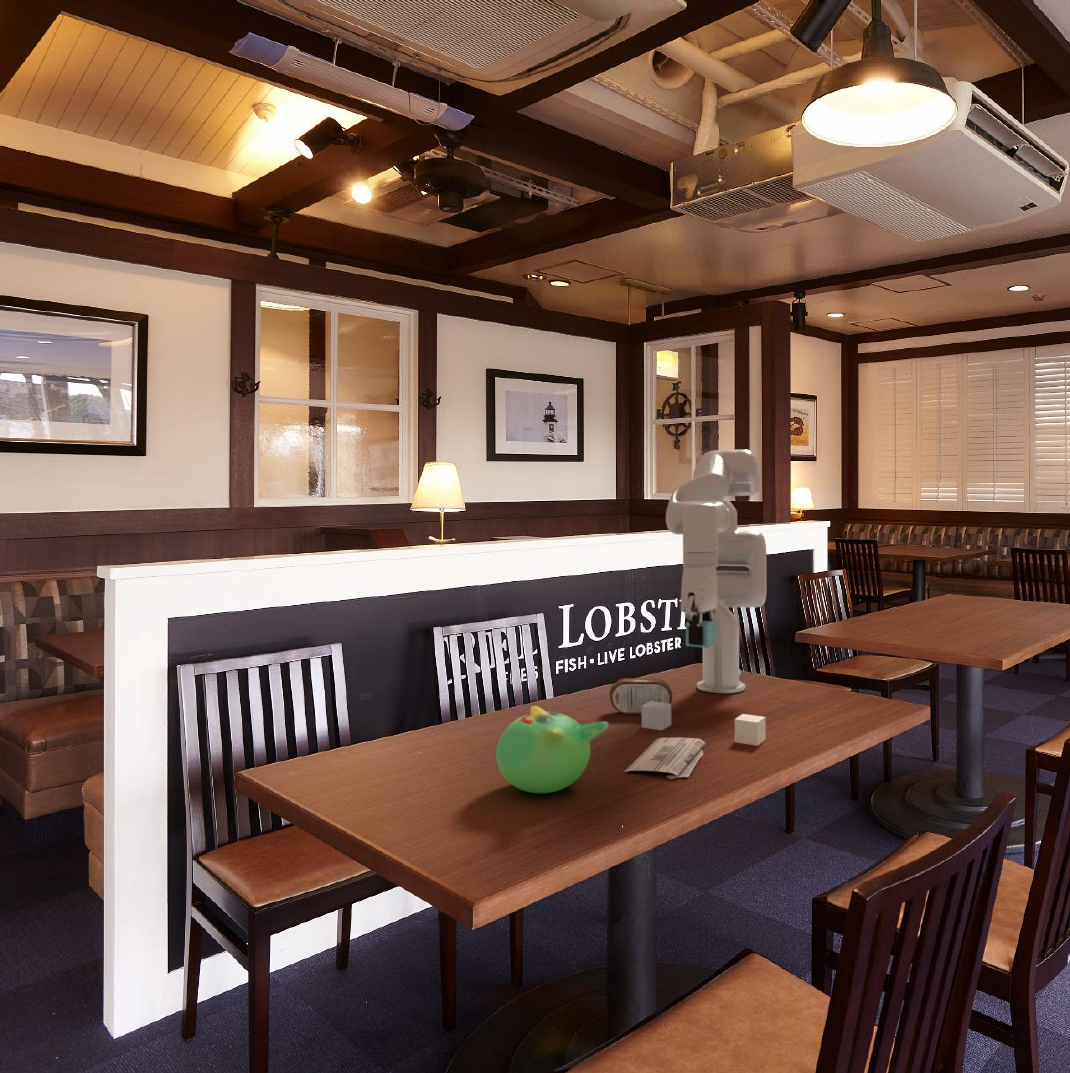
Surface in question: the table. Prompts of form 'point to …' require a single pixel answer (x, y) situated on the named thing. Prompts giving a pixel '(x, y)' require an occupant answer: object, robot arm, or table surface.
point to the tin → (638, 694)
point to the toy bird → (545, 750)
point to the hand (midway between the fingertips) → (701, 641)
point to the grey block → (656, 715)
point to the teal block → (705, 634)
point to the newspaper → (670, 757)
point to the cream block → (750, 729)
